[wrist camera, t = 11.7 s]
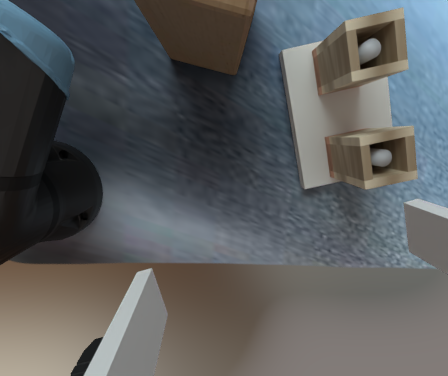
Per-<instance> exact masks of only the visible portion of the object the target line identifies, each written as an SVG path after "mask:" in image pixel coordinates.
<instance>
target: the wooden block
mask: <svg viewBox="0 0 448 376" xmlns="http://www.w3.org/2000/svg"><path fill="white" fill-rule="evenodd" d="M134 1H135V2H136V4H137V6H138V7H139V9H140V10H141V12H142V14H143V15H144V17H145V18H146V20H147V22H148V23H149V25H150V26H151V28H152V30H153V31H154V33H155V34H156V36H157V38H158V39H159V41H160V42H161V44H162V46H163V47H164V49H165V50H166V52H167V54H168V55H169V57H170V58H171V59H174V60H177V61H181V62H185V63H189V64H192V65H196V66H200V67H204V68H207V69H211V70H215V71H219V72H222V73H226V74H230V75H236V74H237V72H238V68H239V64H240V61H241V57H242V54H243V50H244V47H245V43H246V40H247V36H248V33H249V29H250V26H251V22H252V18H253V15H254V11H255V7H256V3H257V0H134Z"/></svg>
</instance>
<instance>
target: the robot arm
mask: <svg viewBox="0 0 448 376" xmlns="http://www.w3.org/2000/svg"><path fill="white" fill-rule="evenodd" d="M74 67H75V62H74V57H73V55H72V53H71V51H70V49H69V48H68V47H67V45H66V44H65V43H64V42H63V41H62V40H61V39H60V38H59V37H58V36H57V35H56V34H54V33H53V32H52V31H51V30H49V29H48V28H47V27H46V26H44V25H43V24H42V23H40V22H39V21H37V20H36V19H35V18H33V17H32V16H30V15H29V14H28V13H26V12H25V11H23V10H22V9H20V8H19V7H17V6H16V5H14V4H13V3H11V2H10V1H8V0H0V265H1V264H3V263H4V262H6V261H8V260H10V259H11V258H13V257H14V256H16V255H18V254H19V253H21V252H23V251H25V250H26V249H28V248H30V247H31V246H33V245H35V244H36V243H38V242H44V241H52V240H60V239H64V238H67V237H70V236H72V235H74V234H76V233H78V232H79V231H81V230H82V229H84V228H85V227H87V226H88V225H89V224H90V223H91V222H92V221H93V220H94V218H95V217H96V215H97V214H98V212H99V209H100V207H101V203H102V195H103V192H102V184H101V180H100V177H99V174H98V172H97V170H96V168H95V167H94V165H93V164H92V162H91V161H90V160H89V159H88V158H87V157H86V156H85V155H84V154H83V153H82V152H80V151H79V150H77V149H76V148H74V147H72V146H70V145H68V144H65V143H62V142H58V141H53V140H54V137H55V134H56V131H57V127H58V124H59V121H60V118H61V115H62V111H63V108H64V105H65V102H66V100H69V97H70V94H69V87H70V83H71V79H72V76H73V72H74ZM404 211H405V220H406V229H407V237H408V246H409V252H411V253H412V254H414V255H416V256H417V257H419V258H421V259H422V260H424V261H426V262H427V263H429V264H431V265H432V266H434V267H436V268H437V269H439V270H441V271H442V272H444V273H446V274H448V208H445V207H442V206H439V205H436V204H433V203H430V202H427V201H423V200H420V199H416V200H412V201H408V202H404ZM167 316H168V314H167V311H166V308H165V305H164V302H163V299H162V296H161V293H160V290H159V287H158V285H157V282H156V279H155V276H154V273H153V270H152V268H151V269H147V270H143V271H140V272H137V274H136V276H135V277H134V279H133V281H132V283H131V285H130V287H129V289H128V291H127V293H126V295H125V297H124V299H123V301H122V303H121V304H120V306H119V309H118V310H117V312H116V314H115V316H114V318H113V320H112V322H111V324H110V326H109V328H108V330H107V332H106V334H105V336H104V337H102V338H98V339H95V340H94V341H93V342H92V343H91V344H90V345H89V346H88V347H87V348H86V349H85V350H84V352H83V353H82V355H81V357H80V359H79V360H78V362H77V366H75V367H74V369H73V371H72V372H71V376H154V372H155V368H156V364H157V359H158V355H159V351H160V346H161V341H162V338H163V333H164V329H165V325H166V320H167Z"/></svg>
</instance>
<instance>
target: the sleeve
mask: <svg viewBox="0 0 448 376" xmlns="http://www.w3.org/2000/svg"><path fill="white" fill-rule="evenodd" d="M325 144H326V151H327V158H328V165H329V173H330V177H332V178H335V179H337V180H340V181H343V182H346V183H348V184H351V185H354V186H357V187H359V188H362V189H365V190H366V189H371V188H376V187H381V186H385V185H390V184H395V183H400V182H404V181H409V180H414V179H418V178H417V165H416V152H415V139H414V126H401V127H383V128H365V129H360V130H356V131H351V132H346V133H342V134H337V135H332V136H328V137H325ZM370 148H373V149H386V150H388V151H390V152H391V154H392V160H391V162H390V163H389V164H388V165H387V166H384V167H380V166H375V165H372V164H371V155H370Z"/></svg>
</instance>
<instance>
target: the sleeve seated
mask: <svg viewBox="0 0 448 376" xmlns="http://www.w3.org/2000/svg"><path fill="white" fill-rule="evenodd" d="M372 38H374V39H377V40H378V41H379V42H380V44H381V51H380V53H379V55H378V56H377V57H375V58H373V59H371V60H369V61H367V62H365V63H363V64H361V65H360V61H359V53H358V46H359V45H361V44H362V43H364V42H365V41H367V40H369V39H372ZM312 56H313V63H314V70H315V77H316V84H317V91H318V96H319V95H324V94H328V93H333V92H337V91H342V90H346V89H350V88H355V87H359V86H362V85H365V84H368V83H371V82H374V81H376V80H379V79H382V78H385V77H388V76H391V75H393V74H396V73H399V72H402V71H405V70H407V69H408V58H407V46H406V34H405V21H404V9H403V8H399V9H395V10H390V11H386V12H382V13H377V14H373V15H369V16H364V17H360V18H356V19H351V20H347V21H344V22H343V23H342V24H341V25H340V26H339V27H338V28H337V29H336V30H335V31H333V32H332V33H331V34H330V35H329V36H328V37H327V38H326V39H325V40H324V41H323V42H321V43H320V44H319V45H318V46H317V47H316V48H315V49H314V50H313V51H312Z"/></svg>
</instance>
